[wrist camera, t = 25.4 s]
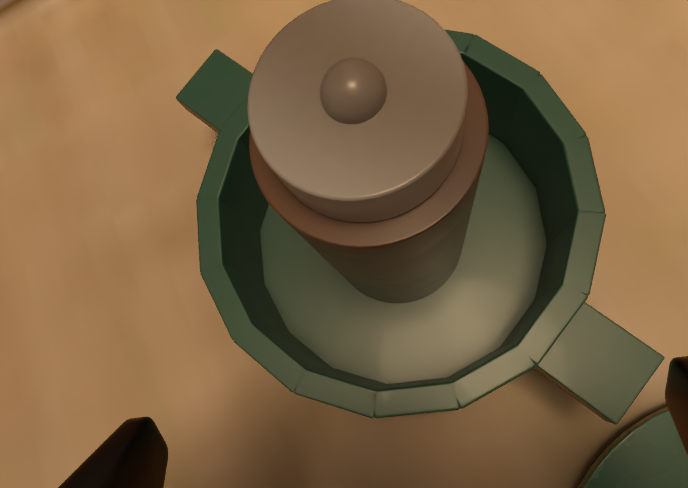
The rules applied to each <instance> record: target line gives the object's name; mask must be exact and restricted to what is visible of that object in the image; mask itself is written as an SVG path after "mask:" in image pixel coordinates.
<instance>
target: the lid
mask: <svg viewBox="0 0 688 488" xmlns="http://www.w3.org/2000/svg"><path fill="white" fill-rule="evenodd" d="M578 488H688V455H687V453H686V451H685V448H684V446H683V443H682V441H681V438H680V436H679V434H678V431H677V429H676V426H675V424H674V421H673V419H672V417H671V414H670V412H669V409H668V407H665V408H663V409H661V410H659V411H656V412H654V413H652V414H650V415H648V416H647V417H645V418H644V419H642V420H641V421H639V422H638V423H636V424H634V425H633V426H631V427H630V428H628V429H627V430H626V431H625V432H623V433H622V434H621V435H620V436H619V437H618V438H617V439H616V440H614V441H613V442H612V443H611V444H610V445H609V446H608V447H607V448H606V449H605V450H604V451H603V453H602V454H601V455H600V456H599V457H598V459H597V460H596V461H595V462H594V463H593V465H592V466H591V467H590V469H589V470H588V472H587V474H586V475H585V477H584V479H583V480H582V482H581V483H580V485H579V487H578Z"/></svg>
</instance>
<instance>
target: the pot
mask: <svg viewBox="0 0 688 488" xmlns="http://www.w3.org/2000/svg"><path fill="white" fill-rule="evenodd" d="M445 31H446V32H447V34H448V35H449V36H450V38H451V39H452V40H453V42H454V44H455V45H456V47H457V49H458V51H459V53H460V55H461V58H462V60H463V61H464V63H465V64H466V65H467V67H468V68H469V69H470V71H471V72H472V73H473V75H474V77H475V79H476V81H477V83H478V84H479V86H480V89H481V92H482V94H483V97H484V100H485V104H486V109H487V114H488V126H489V132H488V145H487V150H486V154H485V159H484V163H483V167H482V171H481V175H480V179H479V183H478V187H477V191H476V195H475V199H474V203H473V207H472V211H471V215H470V219H469V223H468V227H467V231H466V235H465V239H464V243H463V247H462V251H461V255H460V259H459V261H458V264H457V266H456V268H455V270H454V272H453V274H452V275H451V276H450V278H449V279H448V280H447V281H446V282H445V283H444V285H443V286H441V287H440V288H439V289H438V290H437V291H435V292H434V293H432V294H430V295H429V296H427V297H424V298H422V299H420V300H416V301H413V302H408V303H386V302H382V301H378V300H375V299H373V298H370V297H368V296H366V295H365V294H363V293H361V292H360V291H359V290H357V289H356V288H355V287H354V286H353V285H352V284H351V283H350V282H349V281H348V280H346V279H345V278H344V277H343V276H342V275H341V274H340V273H339V272H338V271H337V270H336V269H335V268H334V267H333V266H332V265H331V264H330V263H329V262H328V261H327V260H326V259H324V258H323V257H322V256H321V255H320V254H319V253H318V252H317V251H316V250H315V249H314V248H313V247H312V246H311V245H310V244H309V243H308V242H307V241H306V240H305V239H304V238H302V237H301V236H300V235H299V234H298V233H297V232H296V231H295V230H294V229H293V228H292V227H291V226H290V225H289V224H288V223H287V222H286V221H285V220H284V219H283V218H282V217H281V216H279V215H278V214H277V213H276V212H275V210H274V209H273V208H272V206H271V205H270V204H269V203H268V201H267V200H266V198H265V196H264V195H263V193H262V191H261V190H260V188H259V185H258V183H257V180H256V178H255V175H254V172H253V168H252V164H251V158H250V149H249V139H250V126H249V120H248V111H247V108H248V93H249V87H250V82H251V79H252V76H253V74H252V73H251V72H249V71H248V70H247V69H245V68H244V67H242V66H241V65H239V64H238V63H236V62H235V61H233V60H232V59H231V58H229V57H228V56H226V55H225V54H223V53H222V52H220V51H219V50H217V49H216V50H214V52H213V53H212V54H211V55H210V56H209V58H208V59H207V60H206V61H205V62H204V64H203V65H202V66H201V67H200V68H199V70H198V71H197V72H196V73H195V75H194V76H193V77H192V78H191V79H190V81H189V82H188V83H187V84H186V85H185V87H184V88H183V89H182V90H181V91H180V93H179V94H178V95H177V96H176V99H177V100H178V101H179V102H180V103H181V105H182V106H183V107H184V108H185V109H186V110H188V111H189V112H190V113H192V114H193V115H194V116H196V117H197V118H198V119H200V120H201V121H202V122H204V123H205V124H206V125H208V126H209V127H210V128H212V129H213V130H215V131H216V132H217V133H219V134H218V137H217V140H216V143H215V146H214V149H213V152H212V155H211V158H210V160H209V163H208V166H207V169H206V172H205V175H204V178H203V181H202V184H201V187H200V190H199V193H198V196H197V200H196V203H197V222H198V241H199V260H200V272H201V275H202V277H203V280H204V282H205V284H206V286H207V288H208V290H209V292H210V294H211V296H212V298H213V300H214V302H215V304H216V307H217V309H218V311H219V313H220V315H221V317H222V319H223V321H224V323H225V325H226V327H227V329H228V331H229V334H230V336H231V338H232V340H234V342H235V343H236V344H237V345H238V346H239V347H241V348H242V349H243V350H244V351H245V352H246V353H247V354H249V355H250V356H251V357H252V358H253V359H254V360H255V361H257V362H258V363H259V364H260V365H261V366H262V367H264V368H265V369H266V370H267V371H268V372H269V373H270V374H272V375H273V376H274V377H275V378H276V379H277V380H279V381H280V382H281V383H282V384H283V385H284V386H285V387H287V388H288V389H289V390H290V391H291V392H293V393H295V394H297V395H300V396H303V397H306V398H310V399H313V400H316V401H319V402H322V403H325V404H329V405H332V406H335V407H338V408H341V409H344V410H348V411H351V412H354V413H357V414H360V415H363V416H367V417H370V418H385V417H394V416H404V415H414V414H423V413H433V412H442V411H452V410H458V409H460V408H464V407H466V406H468V405H470V404H471V403H473V402H475V401H477V400H478V399H480V398H482V397H484V396H485V395H487V394H489V393H491V392H492V391H494V390H496V389H498V388H500V387H501V386H503V385H505V384H507V383H508V382H510V381H512V380H514V379H515V378H517V377H519V376H521V375H522V374H524V373H526V372H528V371H530V370H531V369H533V368H535V369H536V370H537V371H539V372H540V373H542V374H543V375H544V376H546V377H547V378H548V379H550V380H551V381H552V382H554V383H555V384H556V385H558V386H559V387H560V388H562V389H563V390H564V391H566V392H567V393H568V394H570V395H571V396H572V397H574V398H575V399H577V400H578V401H579V402H581V403H582V404H583V405H585V406H586V407H587V408H589V409H590V410H591V411H593V412H594V413H595V414H597V415H598V416H599V417H601V418H602V419H603V420H605V421H607V422H610V423H613V424H618V422H619V421H620V420H621V418H622V417H623V415H624V414H625V413H626V411H627V410H628V408H629V407H630V406H631V404H632V403H633V401H634V400H635V399H636V397H637V396H638V394H639V393H640V392H641V390H642V389H643V388H644V386H645V385H646V383H647V382H648V381H649V379H650V378H651V376H652V375H653V374H654V372H655V371H656V369H657V368H658V367H659V365H660V364H661V362H662V361H663V360H664V356H662V355H661V354H659V353H658V352H656V351H655V350H654V349H652V348H651V347H649V346H648V345H646V344H645V343H643V342H642V341H640V340H639V339H638V338H636V337H635V336H633V335H632V334H630V333H629V332H627V331H626V330H625V329H623V328H622V327H620V326H619V325H617V324H616V323H614V322H613V321H611V320H610V319H609V318H607V317H606V316H604V315H603V314H601V313H600V312H598V311H597V310H595V309H594V308H593V307H591V306H590V305H588V304H587V303H585V301H586V299H587V298H588V295H589V294H590V290H591V285H592V280H593V275H594V270H595V265H596V261H597V256H598V251H599V246H600V241H601V237H602V232H603V227H604V222H605V217H606V214H605V208H604V204H603V200H602V195H601V191H600V187H599V182H598V178H597V174H596V170H595V165H594V161H593V157H592V152H591V148H590V144H589V139H588V137H587V136H586V133H585V131H584V130H583V129H582V127H581V126H580V125H579V123H578V122H577V121H576V119H575V118H574V117H573V115H572V114H571V113H570V111H569V110H568V109H567V107H566V106H565V105H564V103H563V102H562V101H561V100H560V98H559V97H558V96H557V94H556V93H555V92H554V90H553V89H552V88H551V86H550V85H549V84H548V82H547V81H546V80H545V78H544V77H543V76H542V75H541V74H540V72H539V71H537V70H535V69H534V68H532V67H530V66H529V65H527V64H525V63H523V62H522V61H520V60H518V59H517V58H515V57H513V56H511V55H510V54H508V53H506V52H505V51H503V50H501V49H499V48H498V47H496V46H494V45H493V44H491V43H489V42H487V41H486V40H484V39H482V38H481V37H479V36H477V35H473V34H469V33H463V32H457V31H450V30H445Z"/></svg>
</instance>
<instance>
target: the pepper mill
mask: <svg viewBox="0 0 688 488" xmlns="http://www.w3.org/2000/svg"><path fill="white" fill-rule="evenodd" d="M247 111H248V120H249V126H250V139H249V149H250V158H251V164H252V168H253V172H254V175H255V178H256V180H257V183H258V185H259V188H260V190H261V191H262V193H263V195H264V196H265V198H266V200H267V201H268V203H269V204H270V205H271V206H272V208H273V209H274V210H275V212H276V213H277V214H278V215H279V216H281V217H282V218H283V219H284V220H285V221H286V222H287V223H288V224H289V225H290V226H291V227H292V228H293V229H294V230H295V231H296V232H297V233H298V234H299V235H300V236H301V237H302V238H304V239H305V240H306V241H307V242H308V243H309V244H310V245H311V246H312V247H313V248H314V249H315V250H316V251H317V252H318V253H319V254H320V255H321V256H322V257H323V258H324V259H326V260H327V261H328V262H329V263H330V264H331V265H332V266H333V267H334V268H335V269H336V270H337V271H338V272H339V273H340V274H341V275H342V276H343V277H344V278H345V279H346V280H348V281H349V282H350V283H351V284H352V285H353V286H354V287H355V288H356V289H357V290H359V291H360V292H361V293H363V294H365V295H366V296H368V297H370V298H373V299H375V300H378V301H382V302H386V303H408V302H413V301H416V300H420V299H422V298H424V297H427V296H429V295H430V294H432V293H434V292H435V291H437V290H438V289H439V288H440V287H441V286H443V285H444V283H445V282H446V281H447V280H448V279H449V278H450V276H451V275H452V274H453V272H454V270H455V268H456V266H457V264H458V261H459V259H460V255H461V251H462V247H463V243H464V239H465V235H466V231H467V227H468V223H469V219H470V215H471V211H472V207H473V203H474V199H475V195H476V191H477V187H478V183H479V179H480V175H481V171H482V167H483V163H484V159H485V154H486V150H487V145H488V132H489V126H488V114H487V109H486V104H485V100H484V97H483V94H482V92H481V89H480V86H479V84H478V83H477V81H476V79H475V77H474V75H473V73H472V72H471V71H470V69H469V68H468V67H467V65H466V64H465V63H464V61H463V60H462V58H461V55H460V53H459V51H458V49H457V47H456V45H455V44H454V42H453V40H452V39H451V38H450V36H449V35H448V34H447V32H446V31H445V30H444V29H443V28H442V27H441V26H440V25H439V24H438V23H437V22H436V21H435V20H434V19H433V18H431V17H430V16H429V15H427V14H426V13H424V12H423V11H421V10H419V9H417V8H416V7H414V6H412V5H409V4H407V3H404V2H402V1H399V0H332V1H329V2H326V3H323V4H320V5H318V6H316V7H314V8H312V9H310V10H308V11H306V12H304V13H303V14H301V15H299V16H298V17H296V18H295V19H294V20H292V21H291V22H290V23H289V24H287V25H286V26H285V27H284V28H283V29H282V30H281V31H280V32H279V33H278V34H277V35H276V36H275V37H274V38H273V39H272V41H271V42H270V43H269V44H268V46H267V47H266V49H265V50H264V52H263V54H262V55H261V57H260V59H259V61H258V63H257V65H256V67H255V70H254V72H253V76H252V79H251V82H250V87H249V93H248V108H247Z"/></svg>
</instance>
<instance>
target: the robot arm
mask: <svg viewBox="0 0 688 488" xmlns="http://www.w3.org/2000/svg"><path fill="white" fill-rule="evenodd" d="M665 399H666V403H667V407H668V409H669V412H670V414H671V417H672V419H673V421H674V424H675V426H676V429H677V431H678V434H679V436H680V438H681V441H682V443H683V446H684V448H685V451H686V453H687V455H688V356H685V357H676V358H673V359H672V361H671V362H670V365H669V371H668V377H667V383H666V389H665ZM167 461H168V448H167V445H166V442H165V441H164V439H163V437H162V435H161V434H160V432H159V430H158V428H157V426H156V425H155V423H154V421H153V420H152V419H151V418H149V417H140V418H131V419H128V420H126V421H125V422H124V423H123V424H122V425H121V426H120V427H119V428H118V429H117V430H116V431H115V432H114V433H113V434H112V435H111V436H110V437H109V438H108V439H107V440H106V441H105V442H104V443H103V444H102V445H101V446H100V447H99V448H98V449H97V450H96V451H95V452H94V453H93V454H91V455H90V456H89V457H88V458H87V459H86V460H85V461H84V462H83V463H82V464H81V465H80V466H79V467H78V468H77V469H76V470H75V471H74V472H73V473H72V474H71V475H70V476H69V477H68V478H67V479H66V480H65V481H64V482H63V483H62V484H61V485H60V486H59V487H58V488H163V486H164V480H165V474H166V467H167Z"/></svg>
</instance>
